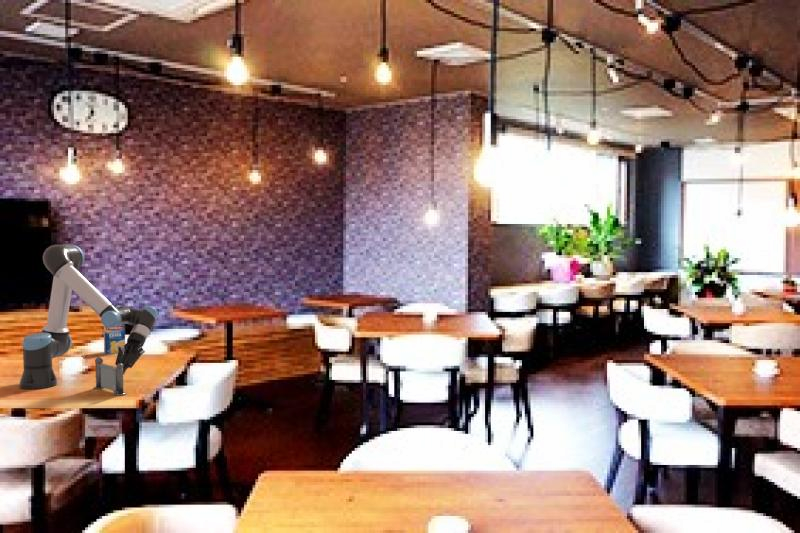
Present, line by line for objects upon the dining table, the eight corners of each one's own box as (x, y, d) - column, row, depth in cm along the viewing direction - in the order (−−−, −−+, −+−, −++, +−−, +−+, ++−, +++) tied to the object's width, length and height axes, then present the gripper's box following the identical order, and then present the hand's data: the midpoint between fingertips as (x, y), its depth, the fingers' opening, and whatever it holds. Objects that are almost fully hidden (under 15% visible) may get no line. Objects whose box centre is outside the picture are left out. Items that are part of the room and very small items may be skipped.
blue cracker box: (103, 352, 411) (103, 314, 410) (124, 350, 416) (123, 313, 415) (105, 353, 405) (104, 315, 404) (125, 352, 410) (124, 314, 409)
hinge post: (91, 388, 316) (90, 357, 316) (102, 386, 320) (101, 355, 320) (96, 390, 313) (96, 358, 313) (107, 388, 317) (107, 357, 316)
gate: (100, 387, 314) (99, 364, 314) (104, 386, 316) (103, 363, 315) (116, 391, 305) (115, 368, 305) (120, 391, 307) (119, 367, 306)
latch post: (111, 394, 305) (110, 363, 304) (122, 392, 309) (121, 361, 308) (118, 396, 301) (117, 364, 301) (129, 394, 305) (128, 362, 304)
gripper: (154, 341, 327) (132, 385, 312) (130, 340, 330) (107, 384, 315) (146, 332, 321) (124, 376, 306) (122, 331, 325) (99, 374, 310)
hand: (116, 380), depth 311 cm, fingers closed
